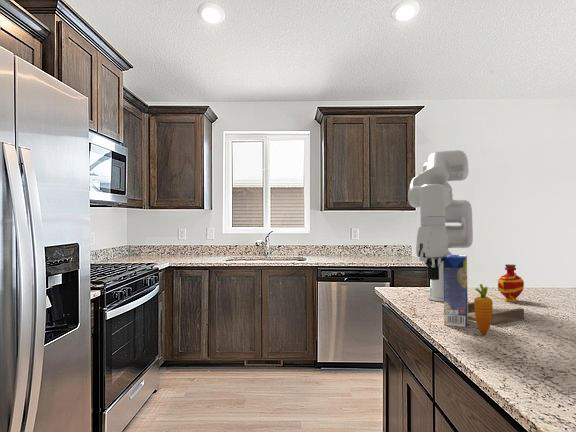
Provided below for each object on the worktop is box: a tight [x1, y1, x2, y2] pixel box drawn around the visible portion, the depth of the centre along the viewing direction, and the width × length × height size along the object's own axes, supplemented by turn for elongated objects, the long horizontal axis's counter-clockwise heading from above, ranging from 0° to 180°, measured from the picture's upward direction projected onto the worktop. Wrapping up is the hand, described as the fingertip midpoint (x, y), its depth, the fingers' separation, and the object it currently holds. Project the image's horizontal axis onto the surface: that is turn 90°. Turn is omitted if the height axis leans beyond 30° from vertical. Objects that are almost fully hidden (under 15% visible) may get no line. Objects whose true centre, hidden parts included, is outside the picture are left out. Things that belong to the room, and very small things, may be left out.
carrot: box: [473, 283, 494, 337], centre depth 128 cm, size 5×5×15 cm
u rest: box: [468, 301, 525, 326], centre depth 153 cm, size 17×16×4 cm
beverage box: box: [443, 254, 469, 328], centre depth 146 cm, size 7×11×22 cm, turn 156°
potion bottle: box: [497, 263, 525, 303], centre depth 184 cm, size 10×10×15 cm
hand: (433, 279), depth 141 cm, fingers closed
